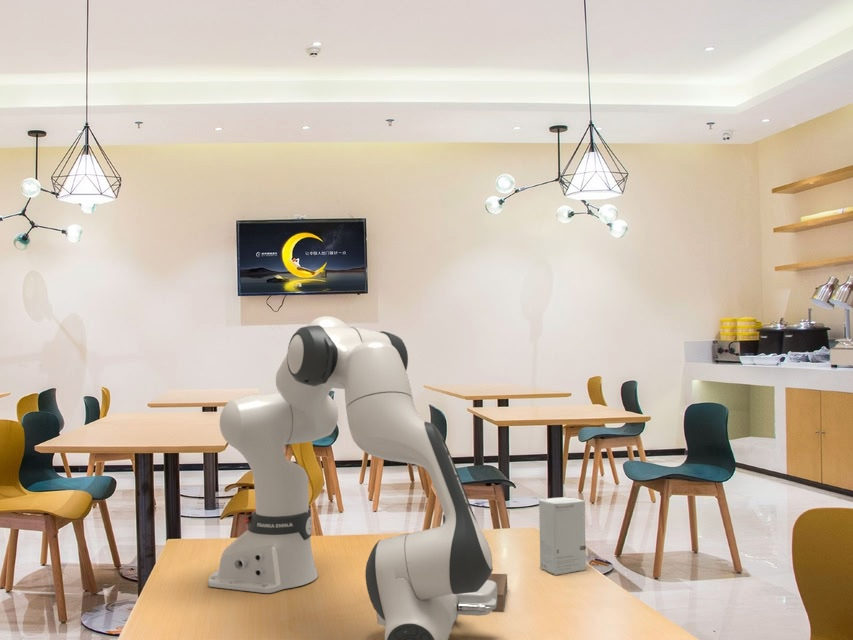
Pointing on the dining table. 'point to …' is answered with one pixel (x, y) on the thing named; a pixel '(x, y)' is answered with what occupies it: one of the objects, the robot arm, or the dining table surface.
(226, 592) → the dining table surface
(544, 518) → the skincare box
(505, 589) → the cutout shelf
